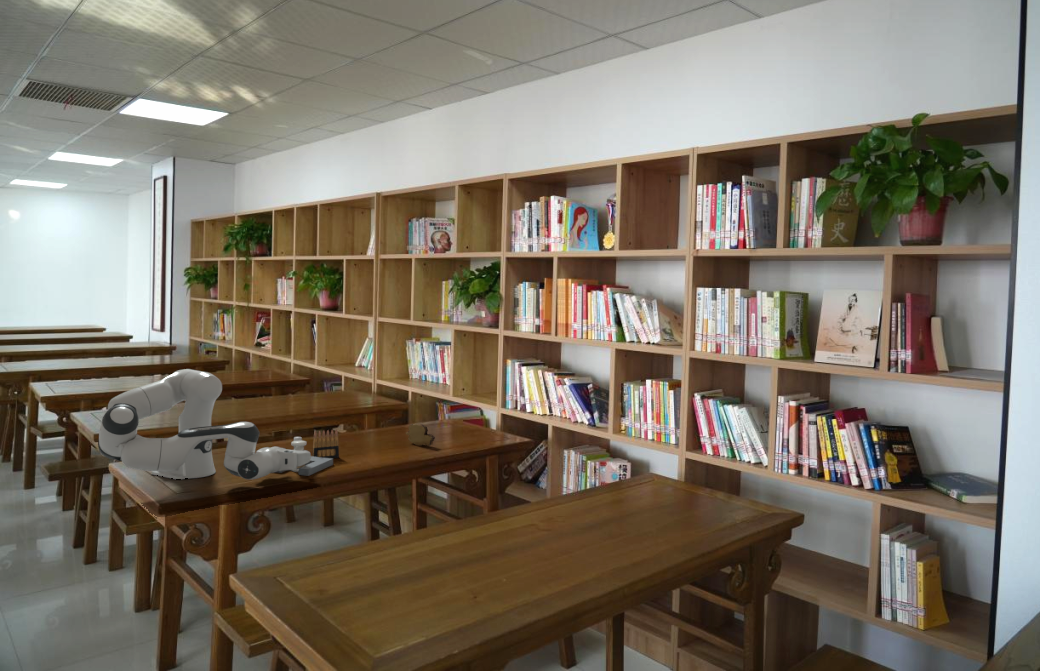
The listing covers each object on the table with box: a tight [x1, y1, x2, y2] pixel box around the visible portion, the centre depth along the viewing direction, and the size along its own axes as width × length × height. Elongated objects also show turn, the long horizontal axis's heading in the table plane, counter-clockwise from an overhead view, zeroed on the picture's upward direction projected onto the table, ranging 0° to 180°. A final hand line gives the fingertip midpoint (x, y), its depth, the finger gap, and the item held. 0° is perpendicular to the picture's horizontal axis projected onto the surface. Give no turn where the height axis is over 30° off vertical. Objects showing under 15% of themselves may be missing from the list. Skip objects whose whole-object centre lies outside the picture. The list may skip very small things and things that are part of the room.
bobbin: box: [290, 440, 308, 473], centre depth 277 cm, size 6×6×11 cm
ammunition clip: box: [311, 429, 340, 459], centre depth 297 cm, size 11×2×12 cm, turn 121°
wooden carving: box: [405, 422, 436, 447], centre depth 327 cm, size 16×5×10 cm, turn 59°
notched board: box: [275, 436, 334, 477], centre depth 280 cm, size 16×18×10 cm
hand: (294, 451), depth 274 cm, fingers open, 8 cm apart
